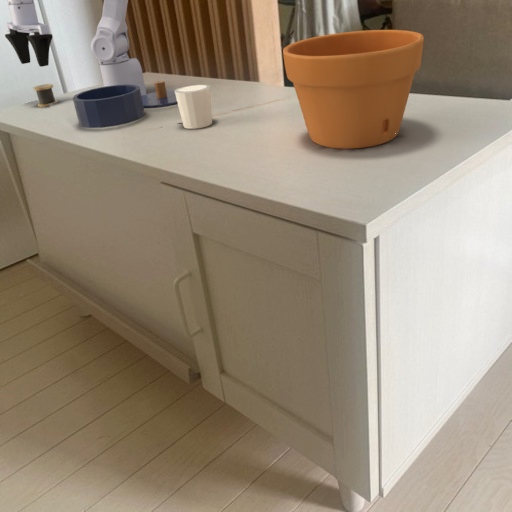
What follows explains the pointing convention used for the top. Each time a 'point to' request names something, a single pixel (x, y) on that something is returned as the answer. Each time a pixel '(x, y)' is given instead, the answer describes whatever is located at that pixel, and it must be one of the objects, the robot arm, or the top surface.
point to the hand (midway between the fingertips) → (34, 64)
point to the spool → (45, 95)
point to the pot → (109, 106)
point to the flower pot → (354, 84)
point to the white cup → (195, 105)
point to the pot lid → (159, 97)
